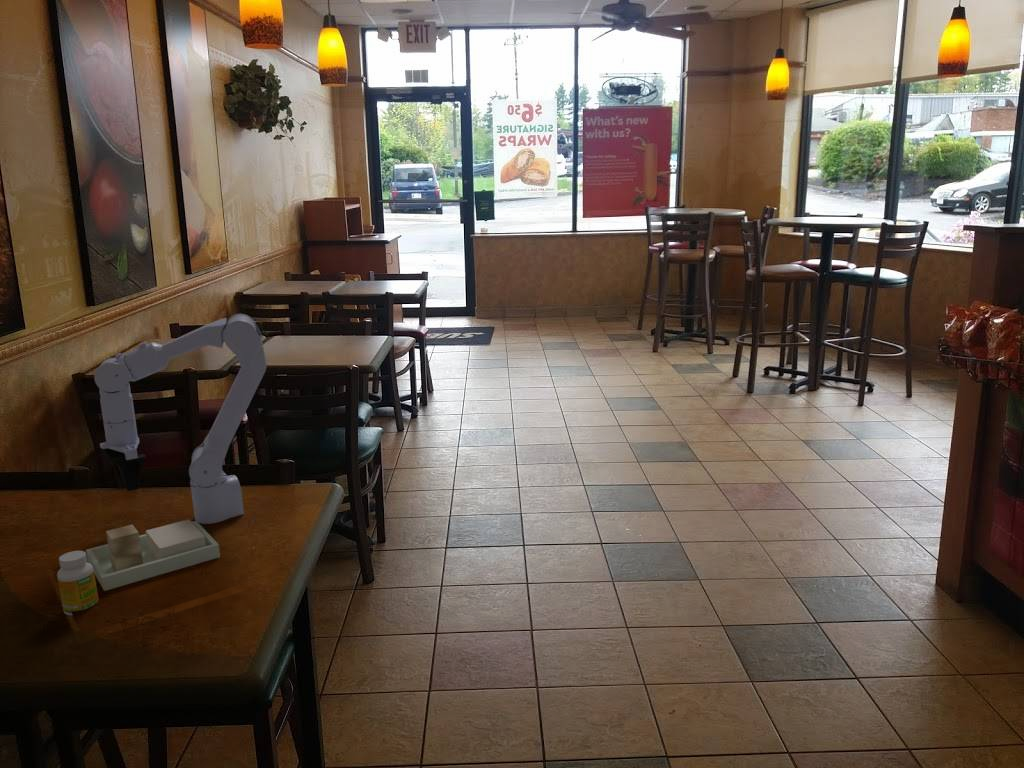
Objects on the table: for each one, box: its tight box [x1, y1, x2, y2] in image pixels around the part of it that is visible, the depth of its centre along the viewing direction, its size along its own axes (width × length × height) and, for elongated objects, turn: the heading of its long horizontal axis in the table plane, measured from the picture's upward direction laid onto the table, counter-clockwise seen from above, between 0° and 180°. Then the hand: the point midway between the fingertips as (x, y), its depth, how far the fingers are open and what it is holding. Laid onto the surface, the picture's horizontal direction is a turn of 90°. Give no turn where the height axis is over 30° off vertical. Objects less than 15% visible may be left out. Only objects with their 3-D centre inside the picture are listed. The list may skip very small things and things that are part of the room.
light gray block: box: [145, 519, 206, 560], centre depth 154 cm, size 8×10×4 cm
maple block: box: [105, 524, 143, 572], centre depth 149 cm, size 4×4×7 cm
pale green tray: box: [85, 520, 221, 592], centre depth 152 cm, size 20×14×4 cm
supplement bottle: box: [56, 550, 99, 617], centre depth 136 cm, size 5×5×10 cm
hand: (128, 484), depth 165 cm, fingers open, 7 cm apart
